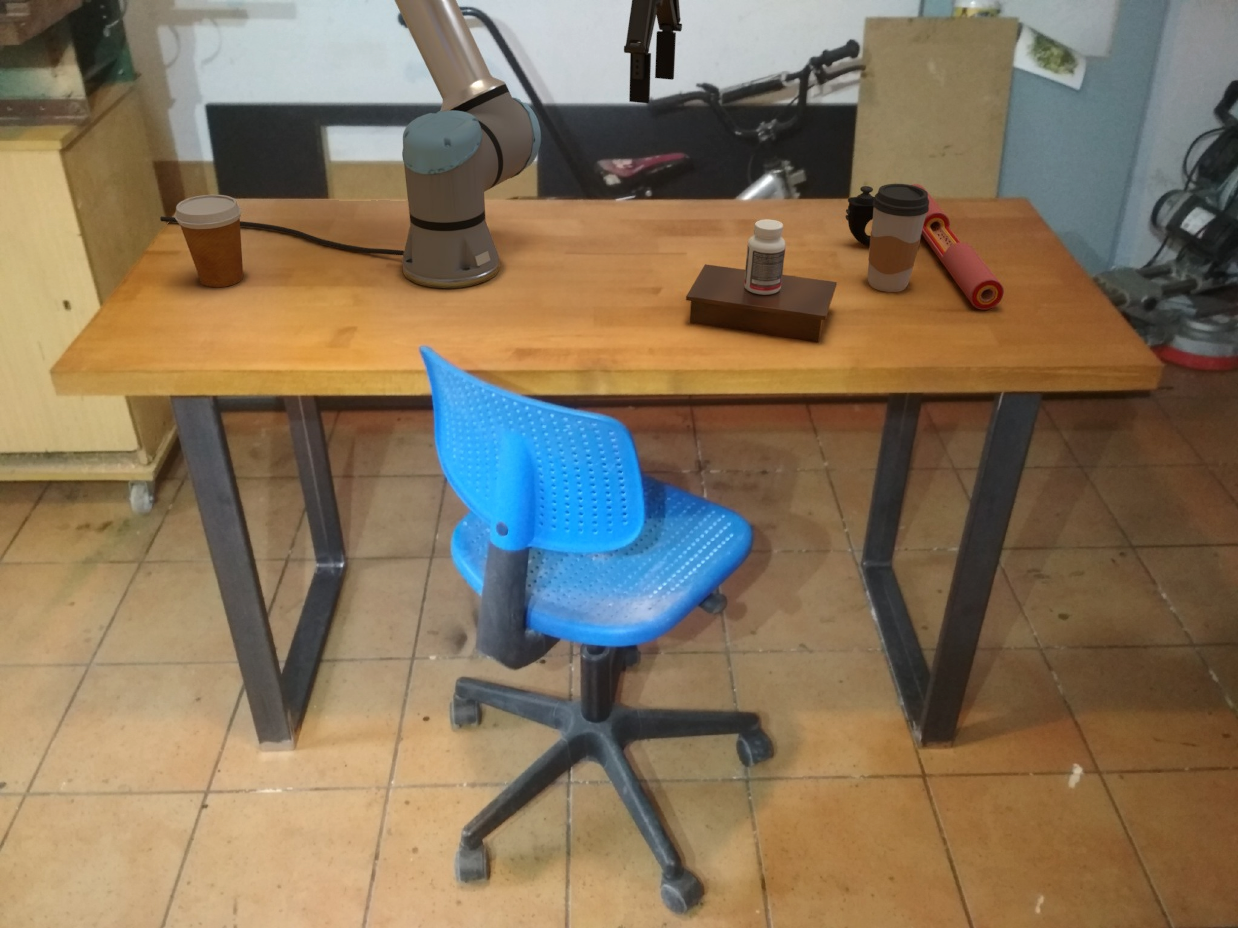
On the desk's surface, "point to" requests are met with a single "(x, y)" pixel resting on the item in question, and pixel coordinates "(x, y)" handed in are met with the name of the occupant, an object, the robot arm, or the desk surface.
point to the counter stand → (760, 304)
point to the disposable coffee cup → (213, 237)
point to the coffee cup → (895, 235)
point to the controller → (860, 214)
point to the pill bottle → (765, 258)
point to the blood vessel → (961, 259)
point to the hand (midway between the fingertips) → (652, 90)
